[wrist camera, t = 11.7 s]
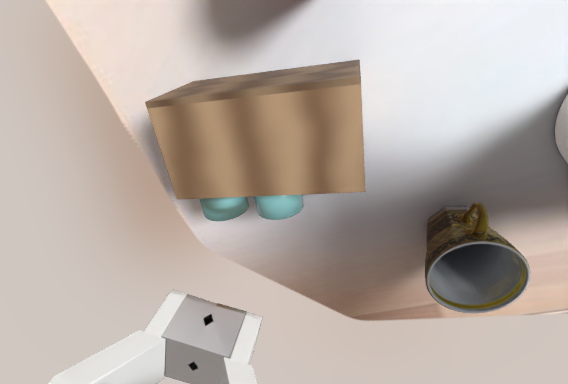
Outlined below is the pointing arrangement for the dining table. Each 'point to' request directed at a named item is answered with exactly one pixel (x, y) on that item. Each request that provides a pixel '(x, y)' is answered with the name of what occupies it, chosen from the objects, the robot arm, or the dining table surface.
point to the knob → (279, 206)
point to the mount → (263, 136)
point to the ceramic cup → (472, 262)
